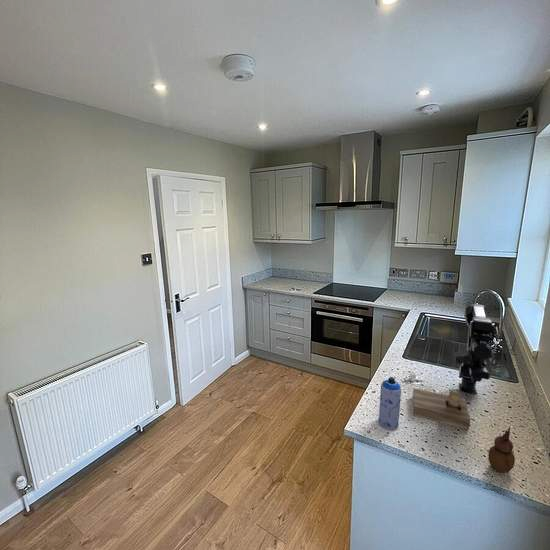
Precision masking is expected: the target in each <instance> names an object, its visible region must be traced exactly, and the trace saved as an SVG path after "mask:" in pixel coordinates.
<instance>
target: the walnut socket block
mask: <svg viewBox="0 0 550 550" xmlns="http://www.w3.org/2000/svg"><path fill="white" fill-rule="evenodd" d="M448 399H449V394H448V395H447V394H443V393H438V392H433V391H429V390H423V389H420V388H414V387H413V390H412V416H413V417H417V418H421V419H424V420H429V421H433V422H437V423H442V424H445V425H450V426H454V427H456V428H457V427H458V428H461V429H466V430H470V427H471V426H470V425H471V416H470V413H469V409H468V405H467V402H466V399H465V398H463V397H460V404H459V408H458V410H455V409H451V408H448V406H449V405H448Z"/></svg>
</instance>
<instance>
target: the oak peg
mask: <svg viewBox="0 0 550 550" xmlns="http://www.w3.org/2000/svg"><path fill="white" fill-rule="evenodd" d="M448 395H449V399H448V405H449V406H448V408H451V409H455V410H458V408H459V404H460V398H461V393H460V392H458V391H456V390H449V393H448Z"/></svg>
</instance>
